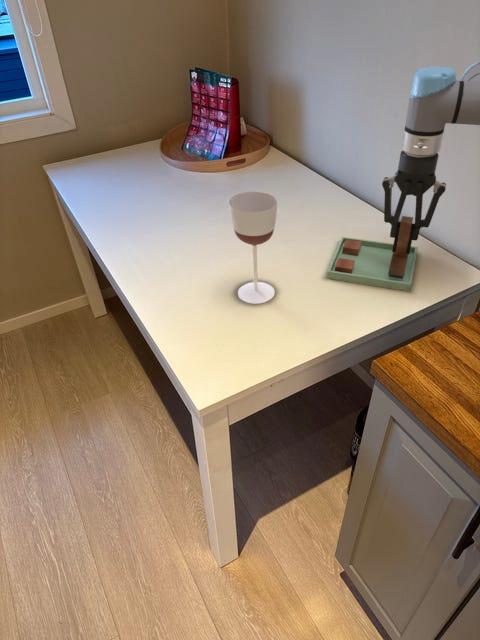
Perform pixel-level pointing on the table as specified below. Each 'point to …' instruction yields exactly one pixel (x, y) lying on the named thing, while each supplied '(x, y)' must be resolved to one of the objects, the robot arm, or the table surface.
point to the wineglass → (254, 235)
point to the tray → (373, 265)
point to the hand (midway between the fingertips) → (401, 249)
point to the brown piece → (401, 249)
